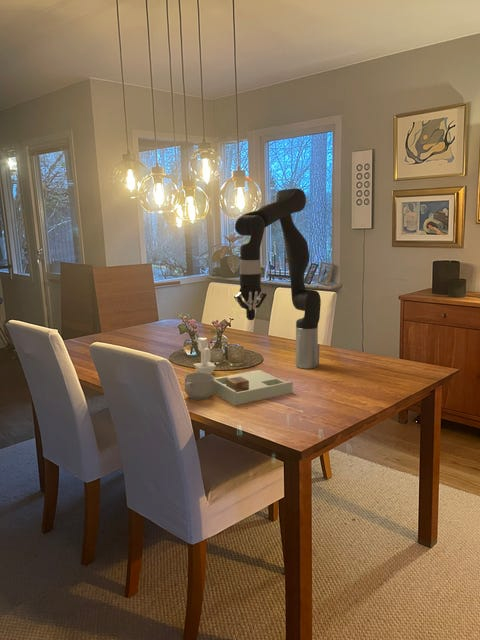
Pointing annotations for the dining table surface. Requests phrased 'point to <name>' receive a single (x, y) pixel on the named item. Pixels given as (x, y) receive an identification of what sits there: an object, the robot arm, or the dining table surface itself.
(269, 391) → the box
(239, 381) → the block
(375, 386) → the dining table surface
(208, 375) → the teacup
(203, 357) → the figurine
